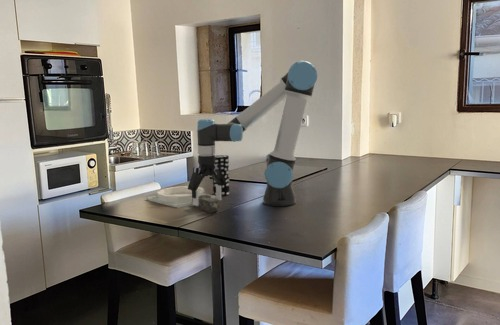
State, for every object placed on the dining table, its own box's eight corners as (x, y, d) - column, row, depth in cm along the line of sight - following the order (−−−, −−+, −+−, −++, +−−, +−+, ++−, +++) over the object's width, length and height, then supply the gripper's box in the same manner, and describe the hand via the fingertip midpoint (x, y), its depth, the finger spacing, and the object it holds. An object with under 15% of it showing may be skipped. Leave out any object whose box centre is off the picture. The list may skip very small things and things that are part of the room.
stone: (221, 217, 205) (225, 200, 200) (210, 224, 200) (214, 206, 195) (200, 201, 212) (203, 184, 206) (188, 206, 206) (192, 189, 201)
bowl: (214, 198, 223) (213, 190, 222) (177, 207, 207) (177, 198, 206) (184, 192, 238) (184, 184, 237) (149, 200, 222) (148, 191, 221)
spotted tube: (214, 198, 226) (213, 157, 223) (211, 194, 234) (210, 155, 231) (231, 196, 228) (230, 156, 225) (227, 193, 236) (226, 154, 233)
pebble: (197, 200, 212) (193, 196, 209) (200, 204, 209) (197, 200, 207) (191, 205, 211) (187, 201, 209) (194, 209, 209) (191, 205, 206)
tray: (216, 199, 223) (216, 195, 223) (177, 209, 206) (177, 205, 206) (184, 192, 239) (184, 189, 239) (147, 201, 222) (146, 197, 222)
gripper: (221, 151, 211) (222, 196, 214) (178, 157, 193) (180, 206, 196) (233, 152, 206) (233, 198, 209) (189, 158, 188) (191, 209, 191)
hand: (207, 202), depth 203 cm, fingers open, 13 cm apart
